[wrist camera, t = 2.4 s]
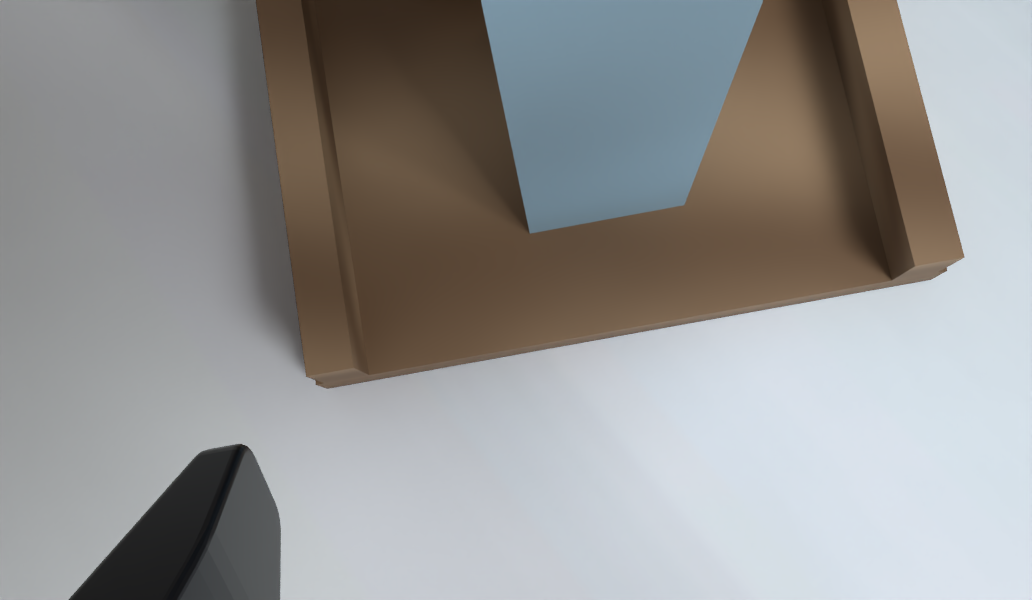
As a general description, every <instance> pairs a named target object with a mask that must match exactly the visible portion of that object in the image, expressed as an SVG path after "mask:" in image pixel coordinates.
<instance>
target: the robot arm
mask: <svg viewBox="0 0 1032 600" xmlns="http://www.w3.org/2000/svg"><path fill="white" fill-rule="evenodd" d="M280 557H281V526H280V518H279V513H278V509H277V506H276V503H275V501H274V499H273V497H272V494H271V492H270V490H269V488H268V485H267V483H266V481H265V478H264V476H263V474H262V472H261V469H260V467H259V465H258V463H257V460H256V458H255V456H254V454H253V452H252V451H251V450H250V449H249V448H248V447H247V446H245V445H242V444H236V445H230V446H224V447H219V448H213V449H208V450H205V451H202V452H201V453H199V454H198V455H197V456H196V457H195V458H194V459H193V460H192V461H191V462H190V463H189V464H188V466H187V467H186V468H185V469H184V470H183V471H182V472H181V473H180V475H179V476H178V477H177V478H176V479H175V480H174V481H173V482H172V484H171V485H170V486H169V487H168V488H167V489H166V490H165V492H164V493H163V494H162V495H161V496H160V497H159V498H158V499H157V501H156V502H155V503H154V504H153V505H152V506H151V507H150V508H149V510H148V511H147V512H146V513H145V514H144V515H143V516H142V517H141V519H140V520H139V521H138V522H137V523H136V524H135V525H134V526H133V528H132V529H131V530H130V531H129V532H128V533H127V534H126V535H125V537H124V538H123V539H122V540H121V541H120V542H119V543H118V544H117V546H116V547H115V548H114V549H113V550H112V551H111V552H110V553H109V555H108V556H107V557H106V558H105V559H104V560H103V561H102V563H101V564H100V565H99V566H98V567H97V568H96V569H95V570H94V572H93V573H92V574H91V575H90V576H89V577H88V578H87V579H86V581H85V582H84V583H83V584H82V585H81V586H80V587H79V588H78V590H77V591H76V592H75V593H74V594H73V595H72V596H71V597H70V599H69V600H280Z"/></svg>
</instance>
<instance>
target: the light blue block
mask: <svg viewBox="0 0 1032 600" xmlns="http://www.w3.org/2000/svg"><path fill="white" fill-rule="evenodd" d="M762 2H763V0H481V3H482V8H483V13H484V17H485V22H486V27H487V32H488V37H489V41H490V46H491V51H492V56H493V60H494V65H495V70H496V75H497V79H498V84H499V89H500V94H501V99H502V103H503V108H504V113H505V118H506V122H507V127H508V132H509V137H510V141H511V146H512V151H513V156H514V161H515V165H516V170H517V175H518V180H519V184H520V189H521V194H522V199H523V203H524V208H525V213H526V218H527V223H528V227H529V232H530V234H531V233H536V232H541V231H547V230H552V229H558V228H563V227H569V226H574V225H579V224H585V223H590V222H596V221H601V220H606V219H612V218H617V217H623V216H628V215H634V214H639V213H644V212H650V211H655V210H661V209H666V208H671V207H677V206H682V205H684V204H685V202H686V199H687V197H688V194H689V191H690V189H691V186H692V184H693V181H694V179H695V176H696V173H697V171H698V168H699V166H700V163H701V160H702V158H703V155H704V153H705V150H706V147H707V145H708V142H709V140H710V137H711V134H712V132H713V129H714V127H715V124H716V122H717V119H718V116H719V114H720V111H721V109H722V106H723V103H724V101H725V98H726V96H727V93H728V90H729V88H730V85H731V83H732V80H733V78H734V75H735V72H736V70H737V67H738V65H739V62H740V59H741V57H742V54H743V52H744V49H745V46H746V44H747V41H748V39H749V36H750V33H751V31H752V28H753V26H754V23H755V21H756V18H757V15H758V13H759V10H760V8H761V5H762Z"/></svg>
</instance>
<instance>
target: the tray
mask: <svg viewBox="0 0 1032 600" xmlns="http://www.w3.org/2000/svg"><path fill="white" fill-rule="evenodd" d="M256 6H257V13H258V21H259V28H260V35H261V43H262V50H263V58H264V65H265V73H266V80H267V88H268V95H269V102H270V110H271V117H272V125H273V132H274V140H275V147H276V155H277V162H278V170H279V177H280V184H281V192H282V199H283V207H284V214H285V222H286V229H287V237H288V244H289V251H290V259H291V266H292V274H293V281H294V289H295V296H296V304H297V311H298V319H299V326H300V333H301V341H302V348H303V356H304V363H305V371H306V377H309V378H312V379H315V381H316V385H318V386H321V387H324V388H327V389H328V388H334V387H339V386H345V385H350V384H356V383H361V382H367V381H372V380H378V379H383V378H389V377H395V376H400V375H406V374H411V373H417V372H422V371H428V370H433V369H439V368H444V367H450V366H455V365H461V364H466V363H472V362H478V361H483V360H489V359H494V358H500V357H505V356H511V355H516V354H522V353H527V352H533V351H538V350H544V349H549V348H555V347H561V346H566V345H572V344H577V343H583V342H588V341H594V340H599V339H605V338H610V337H616V336H621V335H627V334H632V333H638V332H644V331H649V330H655V329H660V328H666V327H671V326H677V325H682V324H688V323H693V322H699V321H704V320H710V319H715V318H721V317H727V316H732V315H738V314H743V313H749V312H754V311H760V310H765V309H771V308H776V307H782V306H787V305H793V304H799V303H804V302H810V301H815V300H821V299H826V298H832V297H837V296H843V295H848V294H854V293H859V292H865V291H870V290H876V289H882V288H887V287H893V286H898V285H904V284H909V283H915V282H920V281H926V280H931V279H933V278H935V277H936V276H938V275H940V274H942V273H944V272H945V271H947V268H946V267H948V266H950V265H952V264H953V263H955V262H957V261H959V260H961V259H962V258H964V254H963V250H962V246H961V242H960V239H959V235H958V231H957V227H956V223H955V220H954V216H953V212H952V208H951V204H950V201H949V197H948V193H947V189H946V186H945V182H944V178H943V174H942V170H941V167H940V163H939V159H938V155H937V152H936V148H935V144H934V140H933V136H932V133H931V129H930V125H929V121H928V117H927V114H926V110H925V106H924V102H923V99H922V95H921V91H920V87H919V83H918V80H917V76H916V72H915V68H914V65H913V61H912V57H911V53H910V49H909V46H908V42H907V38H906V34H905V30H904V27H903V23H902V19H901V15H900V12H899V8H898V4H897V0H763V2H762V5H761V8H760V10H759V13H758V15H757V18H756V21H755V23H754V26H753V28H752V31H751V33H750V36H749V39H748V41H747V44H746V46H745V49H744V52H743V54H742V57H741V59H740V62H739V65H738V67H737V70H736V72H735V75H734V78H733V80H732V83H731V85H730V88H729V90H728V93H727V96H726V98H725V101H724V103H723V106H722V109H721V111H720V114H719V116H718V119H717V122H716V124H715V127H714V129H713V132H712V134H711V137H710V140H709V142H708V145H707V147H706V150H705V153H704V155H703V158H702V160H701V163H700V166H699V168H698V171H697V173H696V176H695V179H694V181H693V184H692V186H691V189H690V191H689V194H688V197H687V199H686V202H685V204H684V205H682V206H677V207H671V208H666V209H661V210H655V211H650V212H644V213H639V214H634V215H628V216H623V217H617V218H612V219H606V220H601V221H596V222H590V223H585V224H579V225H574V226H569V227H563V228H558V229H552V230H547V231H541V232H536V233H531V234H530V232H529V227H528V223H527V218H526V213H525V208H524V203H523V199H522V194H521V189H520V184H519V180H518V175H517V170H516V165H515V161H514V156H513V151H512V146H511V141H510V137H509V132H508V127H507V122H506V118H505V113H504V108H503V103H502V99H501V94H500V89H499V84H498V79H497V75H496V70H495V65H494V60H493V56H492V51H491V46H490V41H489V37H488V32H487V27H486V22H485V17H484V13H483V8H482V3H481V0H256Z"/></svg>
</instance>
